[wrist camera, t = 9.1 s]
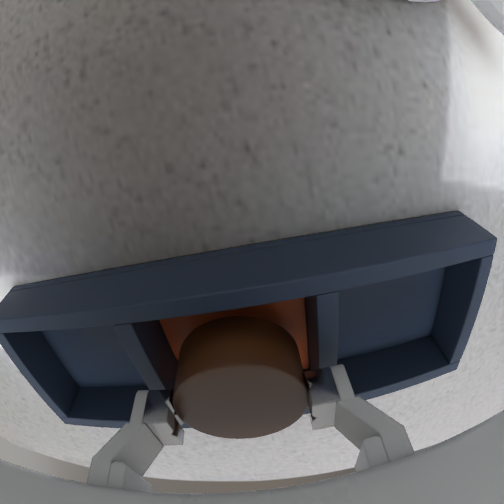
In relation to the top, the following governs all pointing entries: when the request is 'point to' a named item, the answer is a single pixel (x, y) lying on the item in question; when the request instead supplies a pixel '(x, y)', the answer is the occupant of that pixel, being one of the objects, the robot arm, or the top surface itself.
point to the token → (239, 378)
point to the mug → (487, 11)
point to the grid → (256, 312)
